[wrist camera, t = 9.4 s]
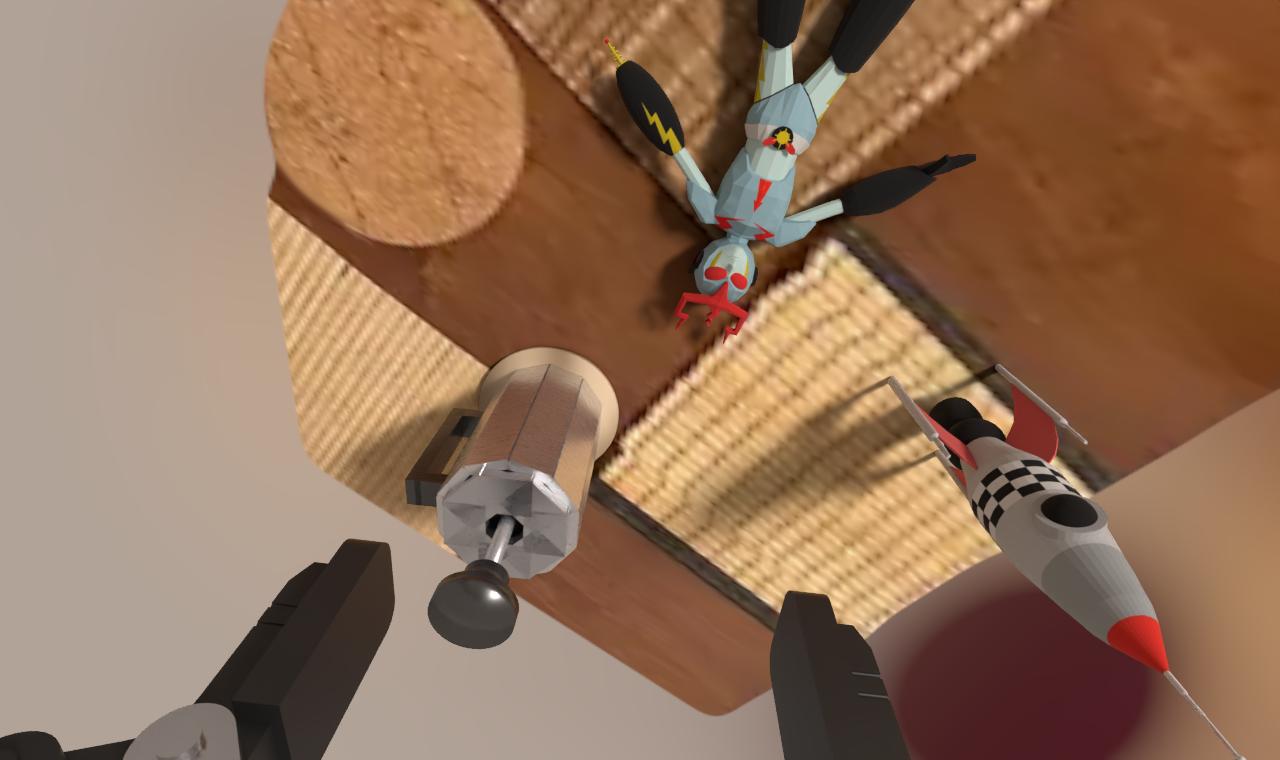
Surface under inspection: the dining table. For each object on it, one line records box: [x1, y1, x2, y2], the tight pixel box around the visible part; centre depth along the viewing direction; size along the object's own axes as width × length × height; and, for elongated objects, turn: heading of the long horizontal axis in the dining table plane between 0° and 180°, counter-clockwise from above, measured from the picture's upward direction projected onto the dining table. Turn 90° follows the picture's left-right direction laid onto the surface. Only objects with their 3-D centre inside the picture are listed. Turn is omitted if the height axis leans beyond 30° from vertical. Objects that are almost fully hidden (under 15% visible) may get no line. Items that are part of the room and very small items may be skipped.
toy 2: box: [888, 364, 1246, 760], centre depth 38 cm, size 9×8×30 cm
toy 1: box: [605, 0, 976, 344], centre depth 40 cm, size 26×8×30 cm
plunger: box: [428, 514, 519, 649], centre depth 40 cm, size 6×6×18 cm
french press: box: [405, 363, 602, 579], centre depth 46 cm, size 12×10×15 cm
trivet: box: [479, 346, 619, 461], centre depth 53 cm, size 12×12×1 cm
